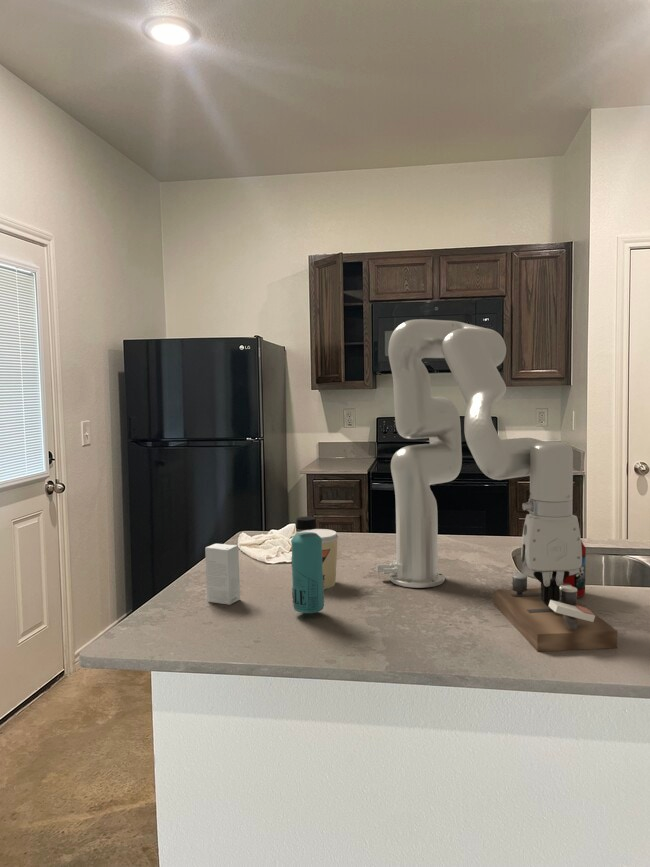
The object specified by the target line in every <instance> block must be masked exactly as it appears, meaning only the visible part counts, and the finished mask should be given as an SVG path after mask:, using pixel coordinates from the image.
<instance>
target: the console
mask: <svg viewBox="0 0 650 867" xmlns="http://www.w3.org/2000/svg"><path fill="white" fill-rule="evenodd" d="M558 602H561V597H560V600H559V601H558ZM493 605H494V606H495V607H496V609H498V610H499V611H500V612H501V614H502V615H503V616H504V617H505V618H506V619H507V620H508V622H510V623H511V625H513V627H514V628H515V629H516V630H517V631H518V632H519V633H520V634H521V635H522V636H523V637H524V639H526V640H527V642H528V643H529V644H530V645H531V646H532V647H533V649H534V650H536V652H553V651H555V652H556V651H573V650H574V651H576V650H597V649H600V650H601V649H602V650H603V649H617V648H618V630H617V629H616V628H614V626H612V625H610V624H609V623H608V622H606V621H605V620H604V619H602V618H601V617H600V616H598V615H597V614H596V613H594V612H593V611H592V610H590V609H589V608H588V607H586V606H585V605H584V604H583V603H581V602H580V601H579V600H577V606H581V607H585V608H587V609H588V610H590V611H591V612H592V613H594V615H595V618H594V621H593V622H591V621H587V620H583V619H579V618H575V617H571V616H568V615H564V614H560V613H556V612H555V611H553V610H552V609H551V608H550V607H548V606H547V605H545V604H544V603H543V601H542V600H541V587H539V588H527V591H525V592H523V594H522V595H519V594H517V591H514V590H513V589H512V588H511V589H509V588H508V589H494V590H493Z"/></svg>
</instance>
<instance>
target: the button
mask: <svg viewBox="0 0 650 867" xmlns="http://www.w3.org/2000/svg"><path fill="white" fill-rule="evenodd" d="M563 586H572V585H571V584H568V583H562V585H561V586H560V597H561V587H563Z"/></svg>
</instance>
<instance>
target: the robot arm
mask: <svg viewBox="0 0 650 867" xmlns="http://www.w3.org/2000/svg"><path fill="white" fill-rule="evenodd" d="M506 354H507V347H506V343H505V340H504V338H503V337H502V336H501V334H500V333H499V332H497V331H496V330H494V329H491V328H489V327H488V328H487V327H486V328H485V327H483V326H478V325H474V324H471V323H469V324H468V323H466V322H462V321H457V320H445V319H444V320H443V319H428V318H425V319H424V318H420V319H409V320H406V321H404V322H402V323H400V324H399V325H398V326H397V327H396V328H395V329H394V330H393V331H392V333H391V336H390V338H389V341H388V361H389V365H390V369H391V370H390V371H391V375H392V381H393V403H394V404H393V405H394V419H395V420H394V422H395V428H396V431H397V434H398V435H399V436H400V437H402V438H403V439H407V440H419V439H420V440H421V439H429V443H423V444H412V445H411V444H410V445H406V446H404V447H401V448H400V449H398V450H396V451H395V453H394V454H393V455H392V458H391V460H390V472H391V477H392V482H393V488H394V495H395V496H394V497H395V533H396V534H395V540H396V542H395V543H396V545H395V546H396V547H395V548H396V554H395V555H396V558H393V561H390V562H389V563H376V565H375V566H376V567H375V568H376V573H382V574H383V575H387V574H388V575H389V574H390V575H389V580H390V581H391V582H392V583H393V584H395V585H397V586H400V587H405V588H411V589H412V588H414V589H415V588H416V589H421V588H422V589H424V588H425V589H426V588H433V587H438V586H441V585H442V584H443V583H444V582H445V574H444V573H443V572H441V571H439V569H438V568H439V566H438V565H439V555H438V554H439V553H438V552H439V551H438V550H439V548H438V542H439V540H438V538H439V537H438V535H439V534H438V532H439V531H438V529H439V528H438V526H439V525H438V502H437V499H436V497H435V495H434V493H433V491H432V490H431V485H432V486H433V485H437V484H438V485H439V484H444V483H449V482H452V481H454V480H456V478H458V476H460V475H459V474H460V472H461V469H462V466H463V464H462V463H463V452H462V432H461V430H462V428H461V418H460V413H459V410H458V407H457V406H456V405H455V403H454V402H453V401H452V400H451V399H449V398H448V397H444V396H433V395H432V385H431V384H432V381H431V376H430V373H429V371H428V369H427V367H426V365H425V364H424V362H423V361H422V359H426V358H427V359H444V360H445V362H446V364H447V366H448V368H449V370H450V372H451V375H452V377H453V378H454V380H455V383H456V385H457V386H458V388H459V391H460V392H461V395H462V397H463V399H464V401H465V403H466V410H465V413H464V419H463V420H464V424H463V425H464V427H463V428H464V429H463V430H464V432H463V433H464V437H465V441H466V445H467V447H468V449H469V451H470V453H471V455H472V458H473V459H474V461H475V463H476V465H477V467H478V469H480V471H481V472H482V474H484V475H485V477H488V478H489V479H492V480H497V481H502V480H509V479H515V478H523V477H529V498H528V501H527V502H523V503H522V505H521V506H522V507H521V508H522V510H523V511H527V512H528V513H529V514H528V513H527V514H526V515H525V520H524V524H523V529H522V536H521V537H522V539H521V547H520V548H521V552H520V557H521V558H520V559H521V562H522V565H521V570H520V572H521V574H524V575H527V577H532V578H535V579H537V581H538V582H540V588H541V600H542V601H543V603H544V604H545V605H547V606H548V607H549V602H550V600H553V601H557V602H558V601H559V600H560V586H561V585H562V583H563V581H564V580H565V579H566V578H567V577H568V576H569V575H574V574H577V573H579V572H580V569H579V568H580V567H581V565H582V547H581V540H582V538H581V530H580V524H579V520H578V516H577V515H575V514H573V500H574V499H573V490H574V488H573V487H574V482H573V480H574V478H573V477H574V472H573V471H574V461H573V460H574V451H573V447H572V445H571V444H569V443H567V442H562V441H556V440H555V441H553V440H552V441H549V440H548V441H545V440H541V439H537V438H533V437H518V438H517V437H516V438H506V439H501V437H500V436H499V434H498V432H497V430H496V428H495V426H494V423H493V420H492V412H491V411H492V407H493V405H494V404H496V403H498V402H499V401H500V400H501V399H502V398H503V397H504V395H505V394H506V392H507V386H506V383H505V381H504V379H503V377H502V376H501V374H500V372H499V370H498V368H497V367H498V366H500V365H501V364H502V363H503V362H504V360H505V358H506ZM550 572H551V574H550Z"/></svg>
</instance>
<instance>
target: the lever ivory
mask: <svg viewBox="0 0 650 867" xmlns="http://www.w3.org/2000/svg"><path fill="white" fill-rule="evenodd" d="M577 601H578V598H577V588H575V587H572V586H563V587H561V603H565V604H569V605H573V606H576V605H577Z"/></svg>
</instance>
